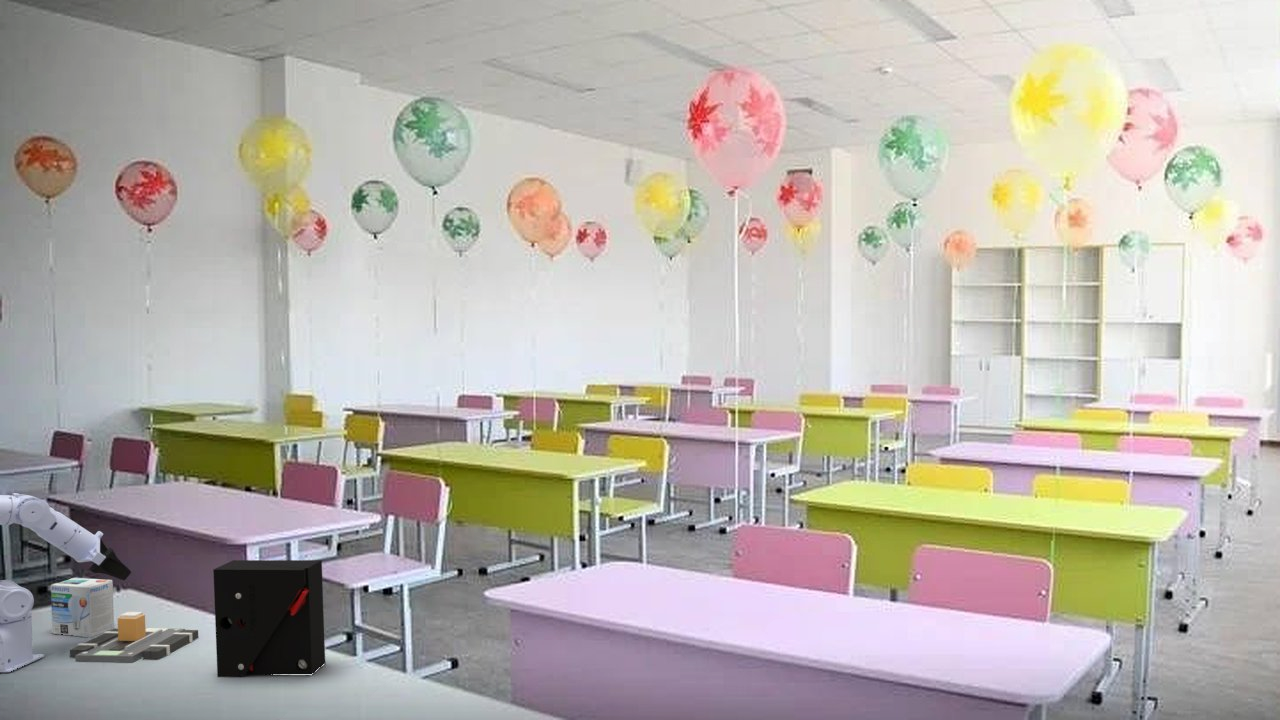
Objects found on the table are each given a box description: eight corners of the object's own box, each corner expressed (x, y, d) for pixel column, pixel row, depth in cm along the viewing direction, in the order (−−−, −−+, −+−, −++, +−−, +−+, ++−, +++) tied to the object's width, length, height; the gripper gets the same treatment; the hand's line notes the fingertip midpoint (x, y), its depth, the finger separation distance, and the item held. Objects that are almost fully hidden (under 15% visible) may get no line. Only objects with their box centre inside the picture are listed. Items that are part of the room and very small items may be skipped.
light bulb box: (50, 634, 219) (48, 584, 219) (76, 625, 226) (74, 576, 225) (91, 637, 216) (88, 587, 216) (115, 628, 223) (113, 579, 222)
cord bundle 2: (159, 659, 201) (159, 650, 200) (141, 659, 201) (141, 650, 201) (199, 637, 214) (199, 629, 214) (182, 637, 215) (182, 628, 215)
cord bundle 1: (86, 658, 203) (86, 649, 202) (68, 657, 203) (68, 648, 203) (130, 636, 216) (130, 627, 216) (113, 636, 217) (113, 627, 217)
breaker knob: (136, 641, 207) (135, 615, 207) (118, 640, 208) (117, 615, 207) (145, 636, 210) (144, 611, 210) (127, 636, 210) (126, 611, 210)
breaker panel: (132, 662, 199) (132, 652, 199) (75, 661, 201) (75, 651, 201) (185, 634, 217) (184, 625, 217) (132, 633, 218) (132, 624, 218)
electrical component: (329, 661, 197) (326, 557, 197) (307, 679, 187) (303, 570, 187) (242, 660, 199) (238, 557, 198) (215, 678, 189) (211, 570, 188)
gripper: (90, 527, 203) (146, 563, 211) (73, 511, 214) (126, 546, 221) (64, 557, 200) (121, 593, 208) (48, 540, 211) (103, 574, 219)
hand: (122, 571), depth 215 cm, fingers open, 7 cm apart
